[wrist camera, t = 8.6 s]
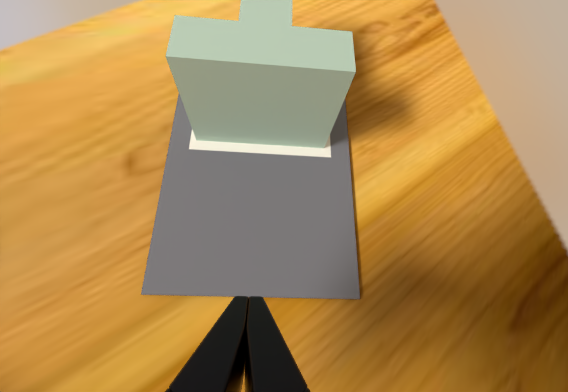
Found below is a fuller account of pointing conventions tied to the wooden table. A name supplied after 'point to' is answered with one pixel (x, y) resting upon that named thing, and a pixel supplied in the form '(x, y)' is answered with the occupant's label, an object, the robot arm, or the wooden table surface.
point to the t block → (260, 76)
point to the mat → (254, 219)
